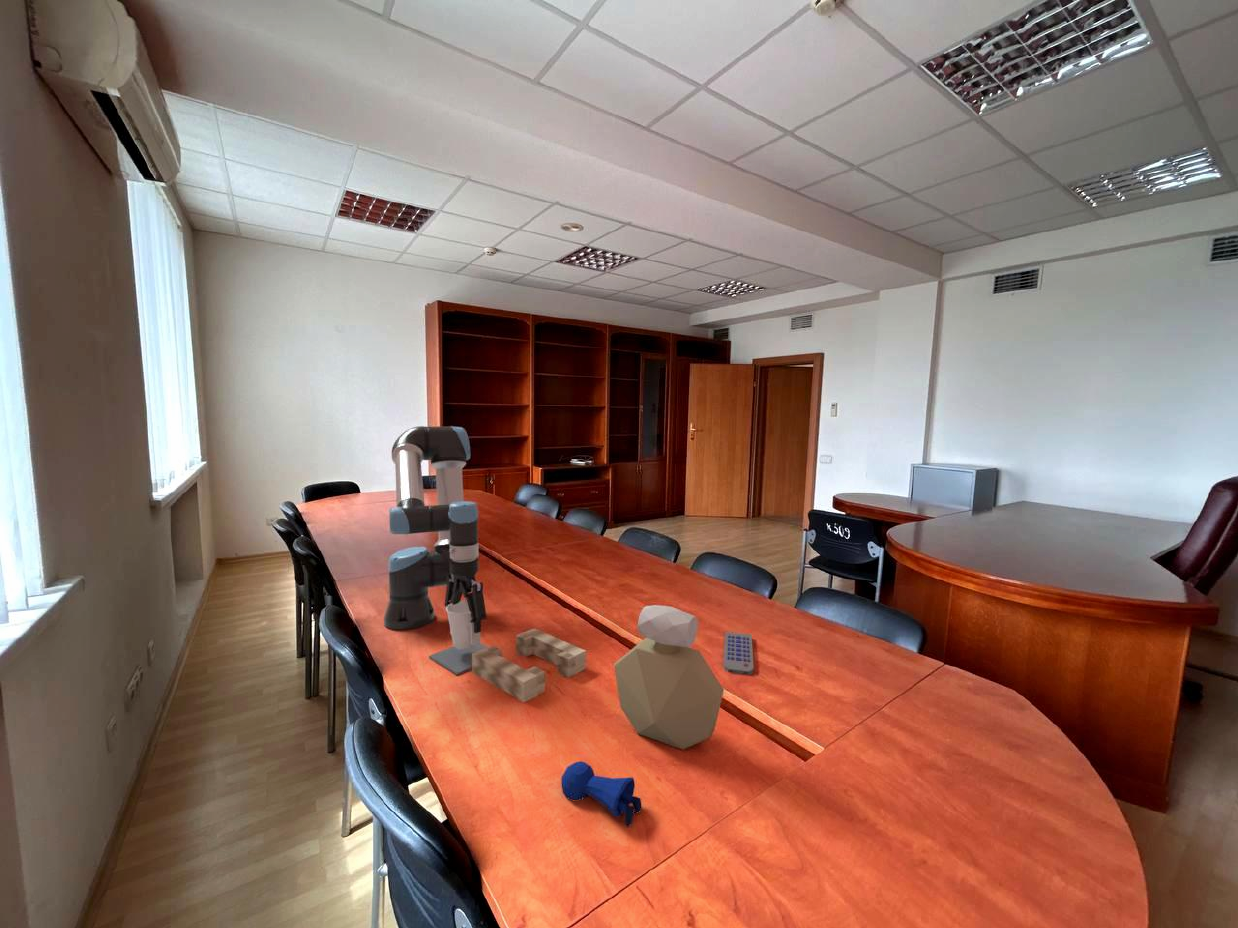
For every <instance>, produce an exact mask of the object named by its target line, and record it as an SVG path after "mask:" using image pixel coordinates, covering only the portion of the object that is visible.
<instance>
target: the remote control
mask: <svg viewBox="0 0 1238 928" xmlns="http://www.w3.org/2000/svg"><path fill="white" fill-rule="evenodd" d="M724 633H725V634H724V645H723V647H724V648H723V670H724V669H725V670H726V671H725V670H724V671H725V672H727V671H728V672H732V673H731V674H737V675H743V674H745V676H751V675H752V674H753V673H754V671H755V670H754V668H755V667H754V655H753V654H754V653H753V638H752V634H747V633H738V632H732V631H731V632H730V631H725V632H724ZM728 672H727V673H728ZM750 674H751V675H750Z"/></svg>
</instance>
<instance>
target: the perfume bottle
mask: <svg viewBox="0 0 1238 928" xmlns="http://www.w3.org/2000/svg"><path fill="white" fill-rule="evenodd" d="M637 621H638V622H637V631H638V633H639V635H640V636H643V637H644V638H643V639H642V640H641V641H640V642H638V644H636V645H635V646H633V648H631V649H630V650H629V651H628V652H627V653H626V654H624V655H623V656H622V657H620V659H618V660H617V661H616V662H615V663H613V666H614V673H615V681H616V685H617V693H618V700H619V706H620V707H619V708H620V709H621V711H622V712H623V714H624V715H625V717H626V719H627V720H628V722H629V723H630V724H631V726H632V728H633V729H634V731H635V732H636V734H638V735H641V736H643V737H647V738H649V739H653V740H654V741H658V742H660V743H663V744H665V745H669V746H671V747H674V748H677V749H680V750H684V751H685V750H686V749H688V748H691V747H693V746H695V745H696V744H699V743H701V742H703V741H705V740H707V739H709V738H711V737H712V735H713V733H714V731H715V729H716V725H717V720H718V716H719V712H720V707H721V704H722V699H723V695H724V691H725V690H724V688H723V686H722V684H721V682H720V681H719V680H718V678H717V676H716V675H715V674H714V672H713V670H712V669H711V668H710V666H709V664H708V662H707V661H706V660H705V658H704V656H703V655H702V653H701V651H700V650H699V649H697V648H691V647H692V646H693V645H694V643H695V642H696V639H697V635H698V629H699V623H698V618H697V616H696V615H693V614H691V613H688V612H685V611H683V610H681V609H678V608H675V607H673V606H668V605H659V604H657V605H646V606H644V607H643V609H641V610H640V614H639V617H638V620H637Z"/></svg>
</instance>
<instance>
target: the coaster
mask: <svg viewBox="0 0 1238 928" xmlns="http://www.w3.org/2000/svg"><path fill="white" fill-rule="evenodd" d="M487 647H488V646H487V645H485V644H483V643H482V642H479V643H477V644H476V645H475V646H473V647H472V648H469V649H457V648H456V647H454V645H453V646H451V647H448V648H446V649H443V650H441V651H438V652H435V653H433V654H429V655H428V658H429V659H430V660H431V661H433V662H434V663H436V664H438V665H440V666H441V667H443V668H444V669H446V670H447V671H449V672H451V673H452V674H454V675H456V676H460V675H461V674H464V673H466V672H468V671H470V670H471V671H472V654H473V653H475V652H478V651H480V650H483V649H485V648H487Z"/></svg>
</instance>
